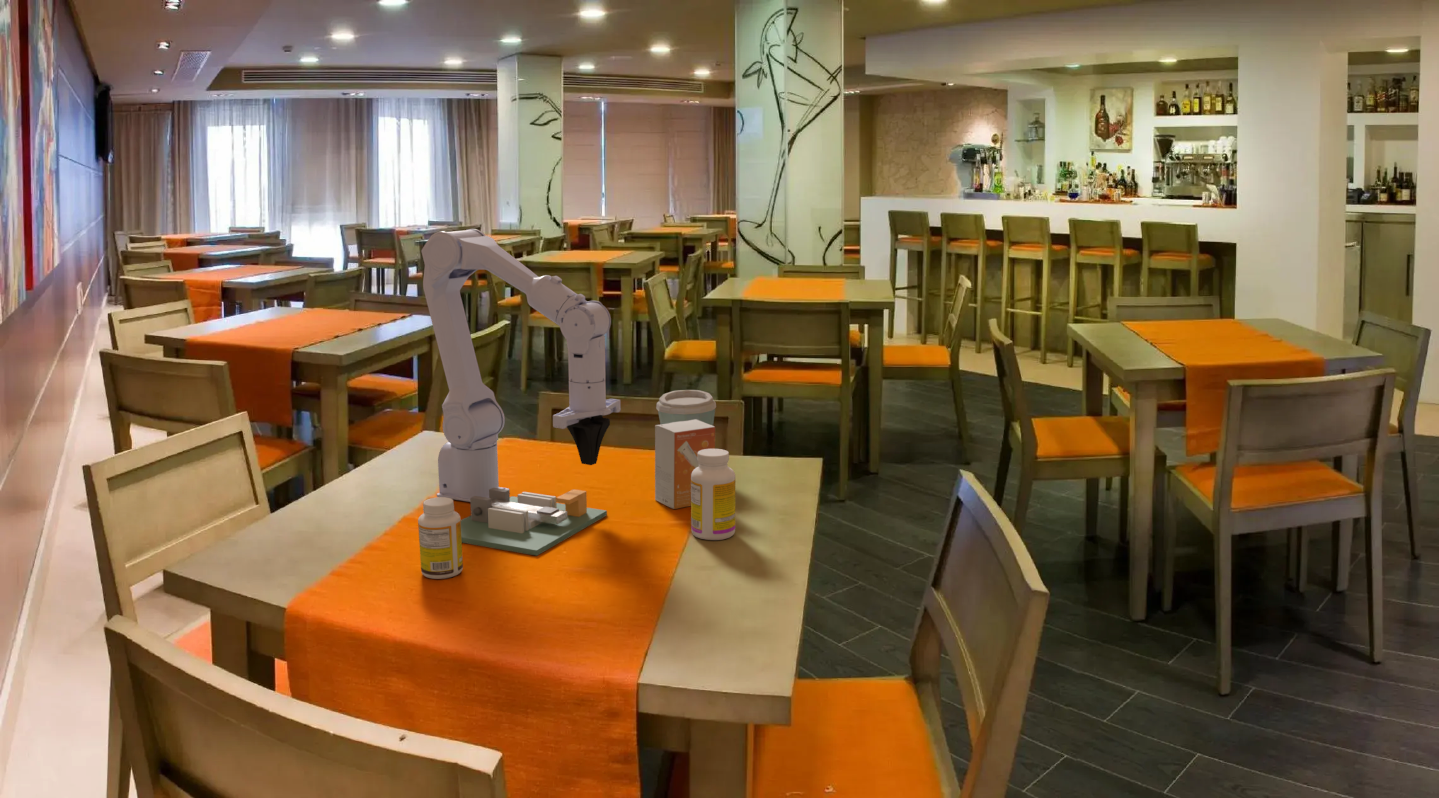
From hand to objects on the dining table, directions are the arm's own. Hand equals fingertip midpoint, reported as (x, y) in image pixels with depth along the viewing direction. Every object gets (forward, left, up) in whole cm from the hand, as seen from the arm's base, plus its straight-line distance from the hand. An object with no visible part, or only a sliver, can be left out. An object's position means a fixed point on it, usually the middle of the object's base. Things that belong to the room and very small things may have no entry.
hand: (588, 463), depth 172 cm
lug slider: (0, -6, -7) cm, 9 cm away
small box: (+12, +11, -8) cm, 18 cm away
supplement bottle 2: (+23, -2, -8) cm, 24 cm away
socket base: (-5, -11, -8) cm, 14 cm away
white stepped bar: (-5, -11, -6) cm, 13 cm away
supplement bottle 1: (-4, -32, -8) cm, 33 cm away
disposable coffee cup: (+6, +24, -8) cm, 26 cm away
